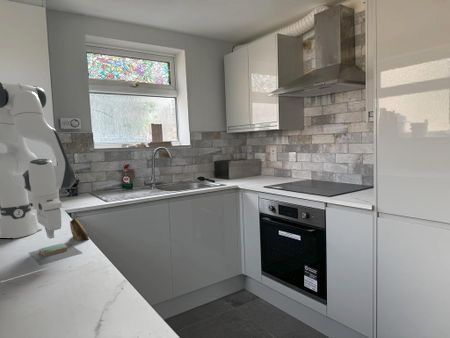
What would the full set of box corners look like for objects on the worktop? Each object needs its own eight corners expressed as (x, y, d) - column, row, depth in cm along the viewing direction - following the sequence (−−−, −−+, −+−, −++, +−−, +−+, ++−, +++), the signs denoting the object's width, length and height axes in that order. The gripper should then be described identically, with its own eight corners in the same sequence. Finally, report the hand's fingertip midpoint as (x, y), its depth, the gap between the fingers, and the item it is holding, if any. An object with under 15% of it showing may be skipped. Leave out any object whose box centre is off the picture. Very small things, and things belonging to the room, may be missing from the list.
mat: (28, 253, 122) (28, 252, 122) (67, 243, 131) (67, 242, 131) (40, 266, 108) (40, 265, 108) (82, 254, 117) (82, 252, 117)
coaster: (38, 248, 121) (43, 253, 116) (61, 243, 126) (66, 246, 121) (39, 252, 121) (44, 256, 116) (62, 246, 126) (67, 250, 121)
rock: (66, 232, 140) (60, 235, 130) (77, 215, 141) (72, 217, 132) (88, 244, 142) (84, 248, 132) (99, 227, 143) (96, 230, 134)
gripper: (30, 200, 126) (35, 234, 127) (43, 206, 111) (48, 245, 112) (48, 197, 130) (52, 230, 131) (62, 203, 115) (67, 240, 116)
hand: (50, 237), depth 122 cm, fingers closed
